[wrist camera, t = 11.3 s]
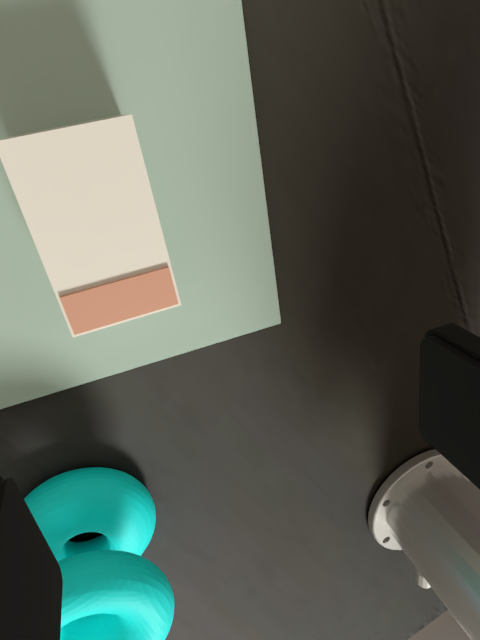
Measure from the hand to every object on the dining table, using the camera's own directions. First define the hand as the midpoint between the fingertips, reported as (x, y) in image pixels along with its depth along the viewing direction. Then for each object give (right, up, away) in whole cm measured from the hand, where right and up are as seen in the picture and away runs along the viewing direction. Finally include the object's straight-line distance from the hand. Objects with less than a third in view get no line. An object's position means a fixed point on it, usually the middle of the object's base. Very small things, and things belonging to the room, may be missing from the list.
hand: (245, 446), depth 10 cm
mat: (-8, +9, +15) cm, 19 cm away
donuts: (-12, -11, +23) cm, 28 cm away
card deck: (-8, +9, +14) cm, 19 cm away
